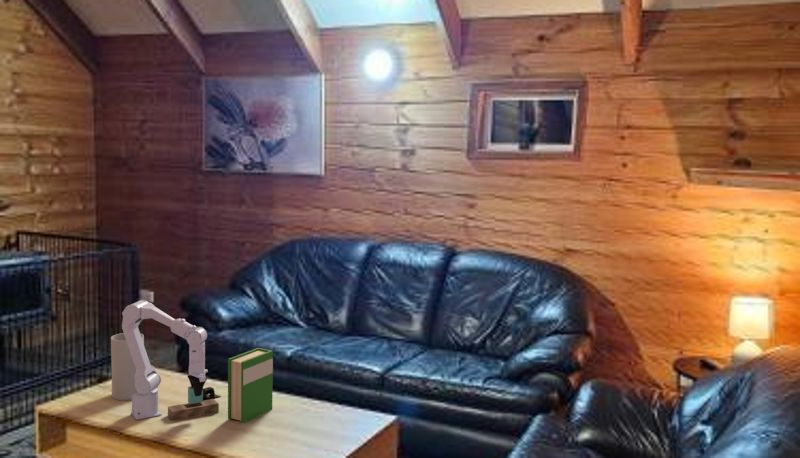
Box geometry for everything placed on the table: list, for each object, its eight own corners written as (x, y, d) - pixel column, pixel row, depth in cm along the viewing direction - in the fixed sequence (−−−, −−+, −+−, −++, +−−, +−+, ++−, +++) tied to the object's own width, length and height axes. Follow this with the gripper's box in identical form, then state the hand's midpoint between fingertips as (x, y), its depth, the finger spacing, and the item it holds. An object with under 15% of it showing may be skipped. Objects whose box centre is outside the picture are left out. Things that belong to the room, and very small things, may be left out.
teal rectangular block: (189, 404, 271) (189, 388, 270) (188, 402, 273) (187, 386, 272) (202, 401, 273) (202, 386, 273) (201, 399, 275) (200, 384, 275)
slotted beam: (172, 420, 271) (172, 411, 270) (167, 415, 276) (167, 406, 275) (218, 412, 280) (218, 403, 280) (213, 407, 285) (213, 398, 285)
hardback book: (242, 423, 270) (243, 362, 267) (227, 419, 273) (228, 358, 270) (272, 409, 285) (272, 350, 282) (257, 405, 289) (258, 347, 286)
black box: (200, 405, 288) (200, 394, 288) (189, 400, 293) (189, 390, 292) (225, 397, 298) (225, 387, 297) (215, 393, 303) (215, 382, 302)
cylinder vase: (111, 392, 298) (110, 334, 295) (142, 388, 303) (142, 331, 300) (112, 402, 287) (111, 342, 284) (145, 398, 292) (145, 339, 289)
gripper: (213, 363, 267) (213, 398, 269) (201, 353, 279) (201, 387, 281) (194, 366, 264) (194, 401, 265) (183, 355, 276) (183, 389, 277)
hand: (196, 394), depth 273 cm, fingers closed on teal rectangular block, 2 cm apart
